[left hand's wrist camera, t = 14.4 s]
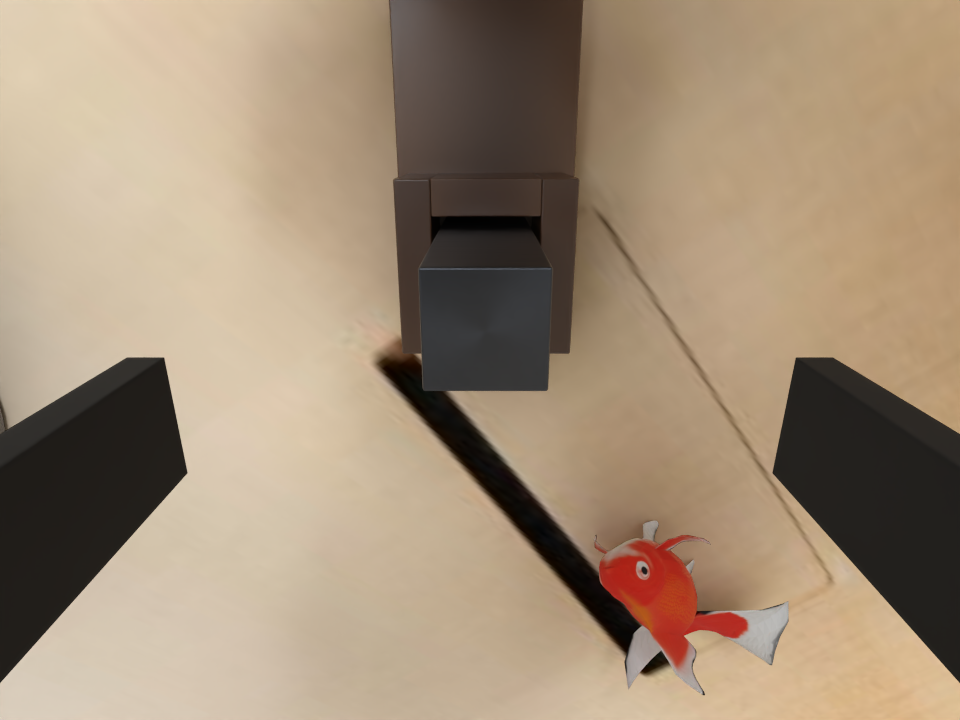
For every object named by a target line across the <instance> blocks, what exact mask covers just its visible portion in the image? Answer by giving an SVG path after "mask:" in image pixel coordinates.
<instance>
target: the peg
mask: <svg viewBox="0 0 960 720" xmlns="http://www.w3.org/2000/svg"><path fill="white" fill-rule="evenodd" d="M418 280H419V305H420V329H421V354H422V379H423V390H424V391H547V390H548V378H549V353H550V329H551V305H552V281H553V268H552V266H551V264H550V262H549V260H548V259H547V257H546V255H545V253H544V251H543V249H542V247H541V246H540V244H539V242H538V240H537V238H536V236H535V235H534V233H533V231H532V229H531V227H530V225H529V224H528V222H527V220H526V218H525V216H488V217H446V218H445V220H444V222H443V224H442V226H441V228H440V229H439V231H438V233H437V235H436V237H435V239H434V240H433V242H432V244H431V246H430V248H429V250H428V251H427V253H426V255H425V257H424V259H423V261H422V262H421V264H420V266H419V268H418Z"/></svg>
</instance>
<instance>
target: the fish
mask: <svg viewBox="0 0 960 720" xmlns="http://www.w3.org/2000/svg"><path fill="white" fill-rule="evenodd" d="M658 526H659V523H658V522H657V521H656V520H655V521H650V522H646V523H644V524H643V539H641V538H634V539H631V540H628V541H626V542H624V543H622V544H620V545H619V546H617V547H615V548H613V549H612V550H610V551H607V550H606V549H604V548H603V547H602V546H600V545H599V544H598V543H597V542H596V538H597V537H596V536H595V538H594V542H595V548H596V549H597V550H599V551H601V552H603V553H605V554H606V555H605V556H604V557H603V558H602V560H601V561H600V566H599V578H600V582H601V584H602V585H603V587H604V588H605V589H606V590H607V591H609V592H610V594H611V595H612V596H613V597H615V598H616V599H618V600H619V601H621V602H623V603H624V604H625V606H626V607H627V609H628V610H629V611H630V613H631V614H632V615H633V617H634V618H635V619H636V620H638V621H639V622H640V623H641V624H642V626H641V627H640V628H639V629H638V630H637V631H636V632H635V633H634V634H633V635H632V638H631V642H630V645H629V649H628V652H627V655H626V659H625V669H626V676H627V683H628V690H629V688H630V686H631V684H632V682H633V681H634V679H635V678H636V677H637V675H638V674H639V673H640V671H641V670H642V669H643V668H644V667H645V665H646V664H647V663H648V662H649V661H650V660H651V659H652V658H653V657H654V656H655V655H656V654H657V653H659V652H660V651H661V650H662V651H663V653H664V655H665V656H666V658H667V659H668V661H669V663H670V665H671V667H672V669H673V671H674V672H675V674H676V675H677V676H678V677H679V678H680V679H682V680H683V681H684V682H685V683H686V684H687V685H689V686H690V687H692V688H693V689H695V690H696V691H698V692H699V693H701V694H702V695H705V694H704V691H703V690H702V688H701V686H700V685H699V683H698V681H697V680H696V678H695V675H694V673H693V668H692V667H693V663H694V660H695V658H696V650H695V648H694V647H693V646H692V645H691V643H690V642H689V641H688V640H687V639H686V638H685V637H684V635H686V634H689V633H691V632H694V631H697V630H709V631H713V632H717V633H719V634H721V635H723V636H725V637H726V638H728V639H730V640H732V641H734V642H735V643H737V644H739V645H740V646H742V647H743V648H745V649H746V650H748V651H749V652H751V653H753V654H754V655H756V656H758V657H759V658H761V659H762V660H764V661H765V662H767V663H768V664H769V665H772V663H773V658H774V653H775V650H776V647H777V644H778V641H779V638H780V636H781V634H782V632H783V630H784V628H785V627H786V625H787V623H788V601H787V602H785V603H783V604H780V605H777V606H774V607H770V608H767V609H763V610H745V611H697V594H696V590H695V586H694V582H693V579H692V577H691V572H692V569H693V565H694V560H692V561H691V562H690V563H689V564H688V565H687V566H686V567H685V565H684V563H683V562H682V561H681V560H680V559H679V558H678V557H677V556H676V555H675V554H674V553H672V552H671V551H670V549H672V548H673V547H675V546H676V545H677V544H679V543H681V542H684V541H703V542H706V543H709V544H710V542H708V541H707V540H705V539H704V538H698V537H694V536H690V535H681V536H678V537H676V538H672V539H668V540H667V541H665V542H663V543H662V544H658V543H656V542H654V536H655V533H656V530H657V528H658ZM710 545H711V544H710Z"/></svg>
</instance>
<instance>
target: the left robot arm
mask: <svg viewBox="0 0 960 720" xmlns="http://www.w3.org/2000/svg"><path fill="white" fill-rule="evenodd" d="M186 474H187V468H186V463H185V459H184V454H183V449H182V444H181V439H180V434H179V429H178V424H177V419H176V414H175V409H174V404H173V399H172V394H171V390H170V385H169V380H168V375H167V370H166V365H165V360H164V358H126V359H124V360H122V361H121V362H119V363H117V364H116V365H114V366H112V367H111V368H109V369H107V370H106V371H104V372H102V373H101V374H99V375H97V376H96V377H94V378H92V379H91V380H89V381H87V382H86V383H84V384H83V385H81V386H79V387H78V388H76V389H74V390H73V391H71V392H69V393H68V394H66V395H64V396H63V397H61V398H59V399H58V400H56V401H54V402H53V403H51V404H49V405H48V406H46V407H44V408H43V409H41V410H39V411H38V412H36V413H34V414H33V415H31V416H29V417H28V418H26V419H24V420H23V421H21V422H19V423H18V424H16V425H14V426H13V427H11V428H9V429H8V430H6V431H5V428H4V421H3V417H2V413H1V409H0V682H1V681H2V680H3V679H4V678H5V677H6V676H7V675H8V674H9V672H10V671H11V670H12V669H13V668H14V667H15V666H16V665H17V663H18V662H19V661H20V660H21V659H22V658H23V657H24V656H25V654H26V653H27V652H28V651H29V650H30V649H31V648H32V647H33V645H34V644H35V643H36V642H37V641H38V640H39V639H40V638H41V637H42V635H43V634H44V633H45V632H46V631H47V630H48V629H49V628H50V626H51V625H52V624H53V623H54V622H55V621H56V620H57V619H58V617H59V616H60V615H61V614H62V613H63V612H64V611H65V610H66V609H67V607H68V606H69V605H70V604H71V603H72V602H73V601H74V600H75V598H76V597H77V596H78V595H79V594H80V593H81V592H82V591H83V589H84V588H85V587H86V586H87V585H88V584H89V583H90V582H91V581H92V579H93V578H94V577H95V576H96V575H97V574H98V573H99V572H100V570H101V569H102V568H103V567H104V566H105V565H106V564H107V563H108V561H109V560H110V559H111V558H112V557H113V556H114V555H115V554H116V552H117V551H118V550H119V549H120V548H121V547H122V546H123V545H124V544H125V542H126V541H127V540H128V539H129V538H130V537H131V536H132V535H133V533H134V532H135V531H136V530H137V529H138V528H139V527H140V526H141V524H142V523H143V522H144V521H145V520H146V519H147V518H148V517H149V516H150V514H151V513H152V512H153V511H154V510H155V509H156V508H157V507H158V505H159V504H160V503H161V502H162V501H163V500H164V499H165V498H166V496H167V495H168V494H169V493H170V492H171V491H172V490H173V489H174V488H175V486H176V485H177V484H178V483H179V482H180V481H181V480H182V479H183V477H184V476H185V475H186ZM773 474H774V475H775V476H776V477H777V479H778V480H779V481H780V482H781V483H782V484H783V485H784V486H785V488H786V489H787V490H788V491H789V492H790V493H791V494H792V495H793V496H794V498H795V499H796V500H797V501H798V502H799V503H800V504H801V505H802V507H803V508H804V509H805V510H806V511H807V512H808V513H809V514H810V516H811V517H812V518H813V519H814V520H815V521H816V522H817V523H818V524H819V526H820V527H821V528H822V529H823V530H824V531H825V532H826V533H827V535H828V536H829V537H830V538H831V539H832V540H833V541H834V542H835V544H836V545H837V546H838V547H839V548H840V549H841V550H842V551H843V552H844V554H845V555H846V556H847V557H848V558H849V559H850V560H851V561H852V563H853V564H854V565H855V566H856V567H857V568H858V569H859V570H860V572H861V573H862V574H863V575H864V576H865V577H866V578H867V579H868V581H869V582H870V583H871V584H872V585H873V586H874V587H875V588H876V589H877V591H878V592H879V593H880V594H881V595H882V596H883V597H884V598H885V600H886V601H887V602H888V603H889V604H890V605H891V606H892V607H893V609H894V610H895V611H896V612H897V613H898V614H899V615H900V616H901V617H902V619H903V620H904V621H905V622H906V623H907V624H908V625H909V626H910V628H911V629H912V630H913V631H914V632H915V633H916V634H917V635H918V637H919V638H920V639H921V640H922V641H923V642H924V643H925V644H926V645H927V647H928V648H929V649H930V650H931V651H932V652H933V653H934V654H935V656H936V657H937V658H938V659H939V660H940V661H941V662H942V663H943V665H944V666H945V667H946V668H947V669H948V670H949V671H950V672H951V674H952V675H953V676H954V677H955V678H956V679H957V680H958V681H959V682H960V434H959V433H957V432H956V431H954V430H952V429H951V428H949V427H947V426H946V425H944V424H942V423H941V422H939V421H937V420H936V419H934V418H932V417H931V416H929V415H927V414H926V413H924V412H922V411H921V410H919V409H917V408H916V407H914V406H912V405H911V404H909V403H907V402H906V401H904V400H902V399H901V398H899V397H897V396H896V395H894V394H892V393H891V392H889V391H887V390H886V389H884V388H882V387H881V386H879V385H877V384H876V383H874V382H873V381H871V380H869V379H868V378H866V377H864V376H863V375H861V374H859V373H858V372H856V371H854V370H853V369H851V368H849V367H848V366H846V365H844V364H843V363H841V362H839V361H838V360H836V359H834V358H796V360H795V365H794V370H793V375H792V380H791V385H790V390H789V394H788V399H787V404H786V409H785V414H784V419H783V424H782V429H781V434H780V439H779V444H778V449H777V454H776V459H775V463H774V468H773Z"/></svg>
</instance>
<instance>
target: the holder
mask: <svg viewBox="0 0 960 720" xmlns="http://www.w3.org/2000/svg"><path fill="white" fill-rule="evenodd" d="M389 5H390V25H391V45H392V64H393V84H394V104H395V124H396V144H397V164H398V178H395V179H394V180H393V186H394V205H395V223H396V242H397V261H398V280H399V299H400V318H401V336H402V352H403V353H421V329H420V305H419V280H418V268H419V266H420V264H421V262H422V261H423V259H424V257H425V255H426V253H427V251H428V250H429V248H430V246H431V244H432V242H433V240H434V239H435V237H436V235H437V233H438V231H439V229H440V228H441V226H442V224H443V222H444V220H445V218H446V217H488V216H525V218H526V220H527V222H528V224H529V225H530V227H531V229H532V231H533V233H534V235H535V236H536V238H537V240H538V242H539V244H540V246H541V247H542V249H543V251H544V253H545V255H546V257H547V259H548V260H549V262H550V264H551V266H552V268H553V281H552V305H551V329H550V353H549V354H568V353H570V340H571V321H572V303H573V285H574V266H575V248H576V229H577V211H578V192H579V179H578V178H576V177H574V168H575V149H576V129H577V110H578V90H579V71H580V51H581V32H582V12H583V0H389Z"/></svg>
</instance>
